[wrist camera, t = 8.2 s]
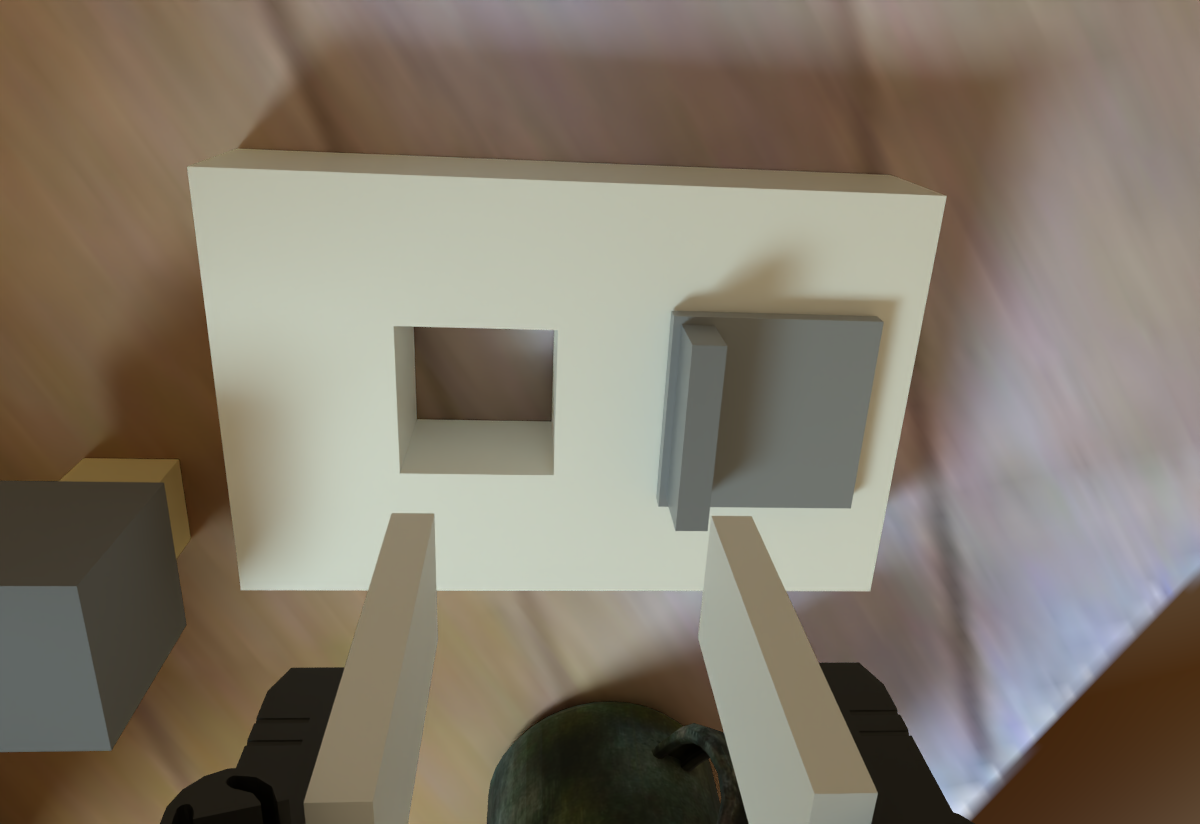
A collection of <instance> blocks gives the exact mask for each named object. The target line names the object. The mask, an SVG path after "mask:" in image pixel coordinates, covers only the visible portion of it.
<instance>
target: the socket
mask: <svg viewBox="0 0 1200 824" xmlns="http://www.w3.org/2000/svg"><path fill="white" fill-rule="evenodd" d="M187 170H188V178H189V186H190V194H191V202H192V210H193V218H194V225H195V233H196V241H197V249H198V257H199V265H200V273H201V280H202V288H203V296H204V304H205V312H206V320H207V328H208V335H209V343H210V351H211V359H212V367H213V375H214V383H215V390H216V398H217V406H218V414H219V422H220V430H221V438H222V445H223V453H224V461H225V469H226V477H227V485H228V493H229V500H230V508H231V516H232V524H233V532H234V540H235V548H236V555H237V563H238V571H239V579H240V587H241V590H368V589H369V586H370V583H371V579H372V576H373V573H374V569H375V566H376V563H377V560H378V556H379V553H380V550H381V546H382V543H383V540H384V537H385V533H386V530H387V527H388V523H389V520H390V517H391V514H392V513H434V516H435V552H436V589H437V591H703V588H704V578H705V569H706V560H707V551H708V541H709V532H710V523H711V516H752V518H753V520H754V522H755V524H756V527H757V529H758V531H759V533H760V535H761V538H762V540H763V542H764V544H765V546H766V549H767V551H768V553H769V555H770V557H771V560H772V562H773V564H774V566H775V568H776V571H777V573H778V575H779V577H780V579H781V582H782V584H783V586H784V588H785V590H786V591H870V590H871V584H872V579H873V574H874V569H875V564H876V559H877V553H878V548H879V543H880V538H881V533H882V528H883V522H884V517H885V512H886V507H887V502H888V497H889V492H890V486H891V481H892V476H893V471H894V466H895V461H896V455H897V450H898V445H899V440H900V435H901V430H902V424H903V419H904V414H905V409H906V404H907V399H908V393H909V388H910V383H911V378H912V373H913V368H914V363H915V357H916V352H917V347H918V342H919V337H920V332H921V326H922V321H923V316H924V311H925V306H926V301H927V295H928V290H929V285H930V280H931V275H932V270H933V264H934V259H935V254H936V249H937V244H938V239H939V234H940V228H941V223H942V218H943V213H944V208H945V203H946V197H947V196H946V195H943V194H940V193H938V192H935V191H932V190H930V189H927V188H924V187H922V186H919V185H916V184H914V183H911V182H908V181H906V180H903V179H901V178H898V177H895V176H893V175H878V174H854V173H829V172H804V171H780V170H755V169H730V168H705V167H681V166H656V165H631V164H607V163H582V162H557V161H532V160H508V159H483V158H458V157H434V156H409V155H384V154H359V153H335V152H310V151H285V150H260V149H234V150H231V151H229V152H226V153H223V154H220V155H218V156H215V157H212V158H209V159H206V160H204V161H201V162H198V163H195V164H193V165H190V166H187ZM671 311H703V312H739V313H776V314H813V315H849V316H877V317H878V318H880V319H881V320H882V321H883V322H884V324H883V329H882V335H881V341H880V346H879V352H878V358H877V363H876V369H875V375H874V380H873V386H872V392H871V397H870V403H869V409H868V414H867V420H866V426H865V431H864V437H863V443H862V448H861V454H860V460H859V465H858V471H857V477H856V482H855V488H854V494H853V499H852V505H851V508H749V507H710V513H709V522H708V531H675V528H674V524H673V521H672V517H671V514H670V510H669V507H658V503H657V499H656V494H657V482H658V470H659V457H660V445H661V432H662V420H663V408H664V395H665V383H666V370H667V358H668V346H669V333H670V321H671ZM414 327H450V328H490V329H530V330H554V349H553V384H552V419H551V422H550V421H491V420H432V419H417V406H416V377H415V348H414Z"/></svg>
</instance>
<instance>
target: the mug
mask: <svg viewBox="0 0 1200 824" xmlns="http://www.w3.org/2000/svg"><path fill="white" fill-rule="evenodd" d="M709 758H710V759H711V761H712V763H713V765H714V767H715V769H716V771H717V773H718V778H719V784H720V791H721V798H722V799H721V804H720V802H719V798H718V794H717V789H716V785H715V781H714V777H713V773H712V769H711V766H710V763H709V760H708V759H709ZM487 824H749V823H748V819H747V815H746V812H745V808H744V804H743V801H742V797H741V793H740V790H739V786H738V782H737V779H736V775H735V771H734V768H733V764H732V760H731V757H730V753H729V749H728V746H727V742H726V738H725V735H724V733H723V732H720V731H717V730H714V729H711V728H708V727H705V726H702V725H698V724H695V723H693V724H690V725H687V726H684V727H683V726H682V725H681V724H680V723H678V722H677V721H675V720H673V719H672V718H670V717H668V716H666V715H664V714H663V713H661V712H659V711H656V710H654V709H651V708H648V707H645V706H642V705H637V704H632V703H627V702H613V701H609V702H593V703H588V704H582V705H577V706H574V707H571V708H568V709H565V710H561V711H559V712H557V713H555V714H553V715H551V716H548V717H546V718H545V719H543V720H541V721H540V722H538V723H537V724H535V725H534V726H532V727H531V728H530V729H529V730H527V731H526V732H525V733H524V734H523V735H522V736H521V737H519V738H518V739H517V740H516V741H515V742H514V743H513V744H512V746H511V747H510V748H509V749H508V750H507V752H506V753H505V754H504V755H503V757H502V759H501V760H500V762H499V764H498V765H497V767H496V769H495V772H494V774H493V777H492V780H491V783H490V789H489V795H488V812H487Z"/></svg>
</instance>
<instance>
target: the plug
mask: <svg viewBox="0 0 1200 824" xmlns="http://www.w3.org/2000/svg"><path fill="white" fill-rule="evenodd" d="M190 539H191V536H190V530H189V523H188V516H187V509H186V503H185V496H184V489H183V483H182V476H181V469H180V462H179V459H111V458H83V459H82V460H81V461H80V462H79V463H78V464H77V465H76V466H75V467H74V468H73V469H71V470H70V471H69V472H68V473H67V474H66V475H65V476H64V477H63V478H62V479H61V480H60V481H0V752H45V751H111V750H112V749H113V747H114V745H115V744H116V742H117V740H118V739H119V737H120V735H121V734H122V732H123V730H124V729H125V727H126V725H127V724H128V722H129V720H130V719H131V717H132V715H133V714H134V712H135V710H136V709H137V707H138V705H139V703H140V702H141V700H142V698H143V697H144V695H145V693H146V692H147V690H148V688H149V687H150V685H151V683H152V682H153V680H154V678H155V677H156V675H157V673H158V672H159V670H160V668H161V667H162V665H163V663H164V662H165V660H166V658H167V657H168V655H169V653H170V652H171V650H172V648H173V647H174V645H175V643H176V642H177V640H178V638H179V637H180V635H181V633H182V632H183V630H184V628H185V627H186V618H185V612H184V606H183V599H182V593H181V587H180V580H179V574H178V568H177V561H176V559H177V558H178V557H179V555H180V554H181V552H182V551H183V549H184V548H185V546H186V545H187V544H188V542H189V541H190Z"/></svg>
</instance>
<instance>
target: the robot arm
mask: <svg viewBox="0 0 1200 824" xmlns="http://www.w3.org/2000/svg"><path fill="white" fill-rule="evenodd" d="M698 640H699V643H700V647H701V651H702V654H703V658H704V661H705V665H706V669H707V672H708V676H709V680H710V683H711V687H712V691H713V694H714V698H715V702H716V705H717V709H718V713H719V716H720V720H721V724H722V727H723V731H724V735H725V738H726V742H727V746H728V749H729V753H730V757H731V760H732V764H733V768H734V771H735V775H736V779H737V782H738V786H739V790H740V793H741V797H742V801H743V804H744V808H745V812H746V815H747V819H748V823H749V824H974V823H973V822H971V821H969V820H968V819H966V818H964V817H963V816H961V815H959V814H956V813H953V811H952V810H951V808H950V806H949V804H948V802H947V801H946V799H945V797H944V795H943V793H942V791H941V789H940V788H939V786H938V784H937V782H936V780H935V778H934V777H933V775H932V773H931V771H930V769H929V767H928V765H927V764H926V762H925V760H924V758H923V756H922V754H921V753H920V751H919V749H918V747H917V745H916V743H915V741H914V740H913V738H912V736H909V733H908V729H907V727H906V725H905V723H904V721H903V719H902V718H901V716H900V715H898V714H897V708H896V706H895V705H894V703H893V701H892V699H891V697H890V695H889V694H888V692H887V690H886V688H885V686H884V684H882V683H881V682H880V681H879V680H878V679H877V678H876V677H875V676H873V675H872V674H871V673H870V672H869V671H868V670H867V669H866V668H864V667H863V666H862V665H861V664H860V663H818V660H817V658H816V656H815V654H814V652H813V649H812V647H811V645H810V643H809V641H808V639H807V636H806V634H805V632H804V630H803V628H802V625H801V623H800V621H799V619H798V617H797V614H796V612H795V610H794V608H793V606H792V603H791V601H790V599H789V597H788V595H787V592H786V590H785V588H784V586H783V584H782V582H781V579H780V577H779V575H778V573H777V571H776V568H775V566H774V564H773V562H772V560H771V557H770V555H769V553H768V551H767V549H766V546H765V544H764V542H763V540H762V538H761V535H760V533H759V531H758V529H757V527H756V524H755V522H754V520H753V518H752V516H711V523H710V532H709V541H708V551H707V560H706V569H705V578H704V588H703V597H702V606H701V615H700V624H699V634H698ZM437 641H438V625H437V589H436V552H435V516H434V513H392V514H391V517H390V520H389V523H388V527H387V530H386V533H385V537H384V540H383V543H382V546H381V550H380V553H379V556H378V560H377V563H376V566H375V569H374V573H373V576H372V579H371V583H370V586H369V589H368V592H367V596H366V599H365V602H364V606H363V609H362V612H361V615H360V619H359V622H358V625H357V629H356V632H355V635H354V638H353V642H352V645H351V648H350V652H349V655H348V658H347V661H346V665H345V668H291V669H290V670H289V671H288V672H287V673H286V674H285V675H284V676H283V677H282V678H281V679H280V680H279V681H278V682H277V683H276V684H275V685H274V686H272V687H271V688H270V689H269V690H268V692H267V694H266V696H265V699H264V701H263V704H262V706H261V709H260V711H259V713H258V716H257V721H256V724H254V726H253V728H252V730H251V733H250V735H249V738H248V740H247V746H245V747H244V750H243V752H242V755H241V757H240V760H239V762H238V764H237V767H236V768H231V769H226V770H222V771H219V772H216V773H213V774H210V775H207V776H204V777H202V778H201V779H199V780H198V781H196V782H194V783H193V784H191V785H189V786H188V787H186V788H185V789H183V790H182V791H181V792H180V793H179V794H178V795H177V796H176V797H175V799H174V800H173V801H172V802H171V803H170V804H169V805H168V806H167V807H166V810H165V812H164V815H163V817H162V820H161V822H160V824H408V819H409V813H410V807H411V801H412V794H413V788H414V782H415V776H416V770H417V764H418V758H419V751H420V745H421V739H422V733H423V727H424V721H425V715H426V708H427V702H428V696H429V690H430V684H431V678H432V672H433V665H434V659H435V653H436V647H437Z"/></svg>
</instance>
